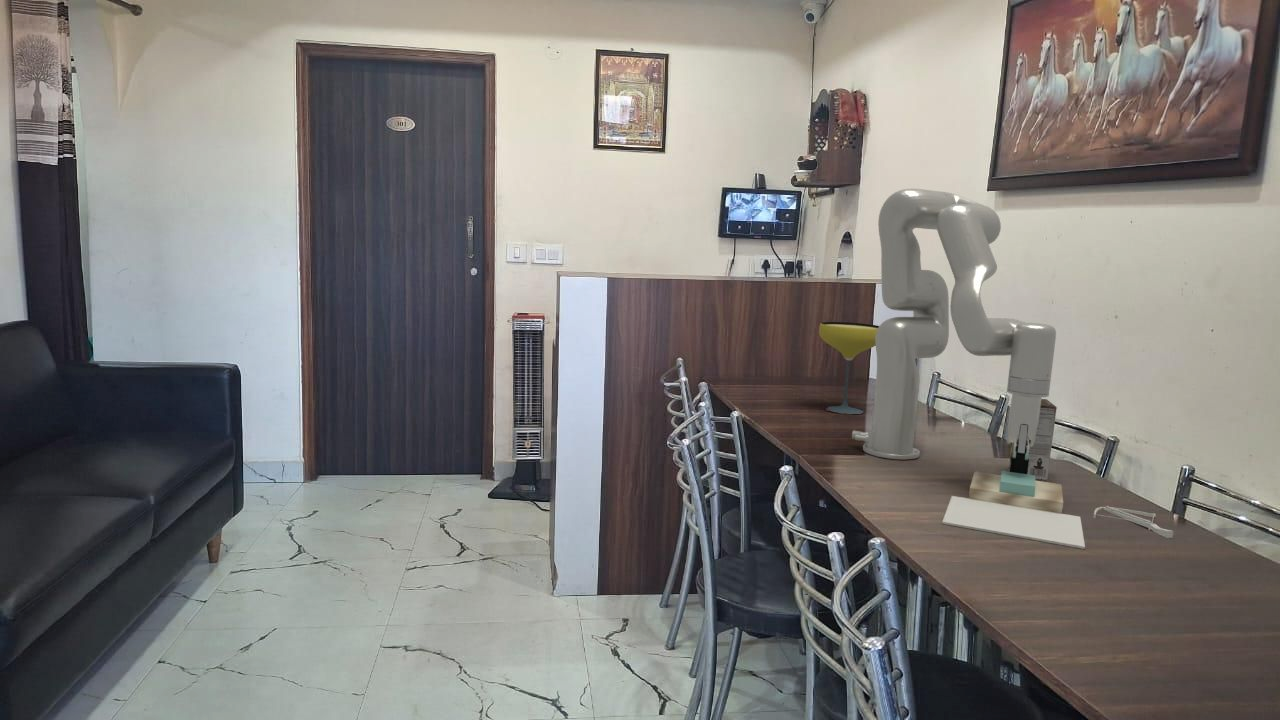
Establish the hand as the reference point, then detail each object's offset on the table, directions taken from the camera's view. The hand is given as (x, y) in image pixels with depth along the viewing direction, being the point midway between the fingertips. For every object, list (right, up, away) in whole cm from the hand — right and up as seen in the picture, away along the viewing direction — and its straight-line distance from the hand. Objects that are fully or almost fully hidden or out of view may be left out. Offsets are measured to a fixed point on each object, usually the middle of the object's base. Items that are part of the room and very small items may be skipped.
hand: (1017, 477), depth 168 cm
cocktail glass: (-16, +8, +77) cm, 79 cm away
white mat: (-9, -5, -18) cm, 20 cm away
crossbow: (+15, -7, -14) cm, 22 cm away
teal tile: (-3, -1, -5) cm, 6 cm away
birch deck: (-2, -4, -3) cm, 5 cm away
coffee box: (+9, -2, +17) cm, 19 cm away
